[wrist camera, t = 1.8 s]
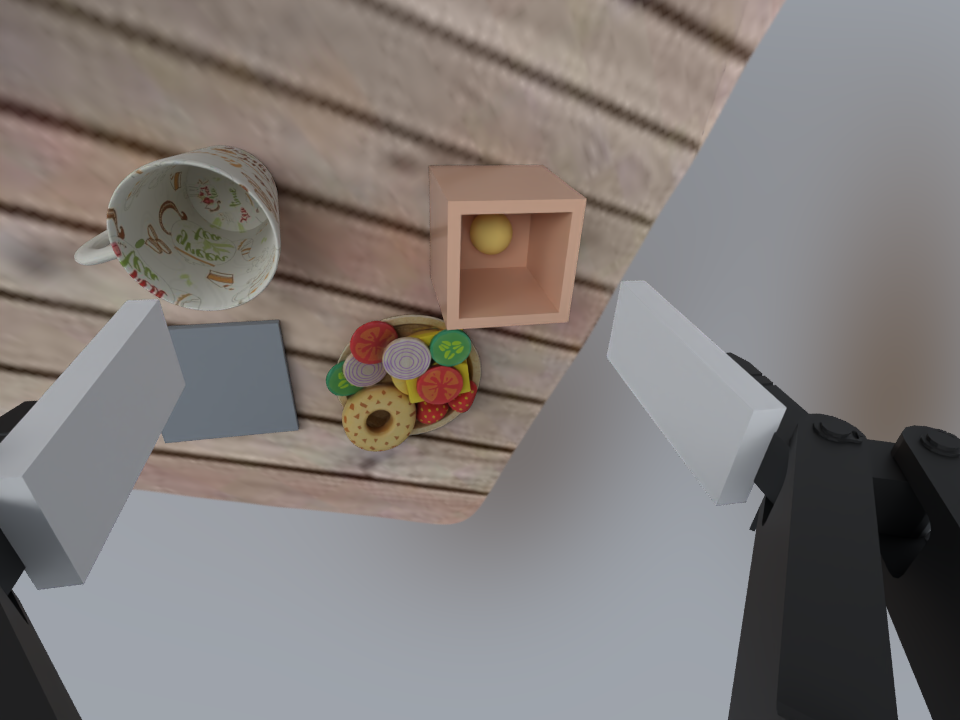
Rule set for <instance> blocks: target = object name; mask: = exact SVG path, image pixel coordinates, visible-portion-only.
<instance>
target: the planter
mask: <svg viewBox="0 0 960 720" xmlns="http://www.w3.org/2000/svg"><path fill="white" fill-rule="evenodd" d="M586 200H587V199H586V198H585V197H584V196H582V195H581V194H580V193H578V192H577V191H576V190H574V189H573V188H572V187H570V186H569V185H568V184H567V183H565V182H564V181H563V180H561V179H560V178H559V177H557V176H556V175H555V174H554V173H552V172H551V171H550V170H548V169H547V168H546V167H544V166H543V165H451V166H429V207H430V277H431V280H432V283H433V286H434V290H435V293H436V296H437V299H438V303H439V306H440V309H441V313H442V316H443V319H444V322H445V326H446V329H447V330H456V329H471V328H486V327H502V326H517V325H532V324H548V323H563V322H568V320H569V313H570V306H571V300H572V293H573V286H574V280H575V273H576V266H577V260H578V253H579V246H580V240H581V233H582V226H583V220H584V213H585V206H586ZM479 214H503V215H505V216H506V217H507V218H508V220H509V221H510V223H511V226H512V231H513V234H512V239H511V242H510V244H509V245H508V247H507V248H506V249H505V250H504V251H502V252H500V253H498V254H494V255H489V254H484V253H482V252H480V251H478V250H477V249H476V248H475V247H474V245H473V244H472V242H471V239H470V227H471V224H472V222H473V220H474V219H475V218H476V217H477V216H478V215H479Z"/></svg>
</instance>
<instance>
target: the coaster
mask: <svg viewBox="0 0 960 720" xmlns="http://www.w3.org/2000/svg"><path fill="white" fill-rule="evenodd" d="M167 327H168V330H169V333H170V336H171V340H172V343H173V346H174V349H175V352H176V356H177V359H178V362H179V365H180V368H181V372H182V375H183V378H184V381H185V387H184V389H183V391H182V393H181V395H180V397H179V399H178V401H177V403H176V405H175V407H174V409H173V410H172V412H171V414H170V416H169V418H168V420H167V422H166V424H165V426H164V428H163V430H162V432H161V433H162V436H163V438H164V441H165V443H171V442H181V441H192V440H202V439H212V438H223V437H233V436H243V435H254V434H264V433H274V432H285V431H295V430H298V429H299V424H298V419H297V413H296V408H295V403H294V398H293V392H292V387H291V382H290V376H289V371H288V366H287V361H286V355H285V350H284V345H283V339H282V334H281V329H280V324H279V320H266V321H248V322H231V323H214V324H196V325H179V326H167Z"/></svg>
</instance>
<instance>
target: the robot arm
mask: <svg viewBox="0 0 960 720" xmlns="http://www.w3.org/2000/svg"><path fill="white" fill-rule="evenodd" d="M607 359H608V360H609V361H610V363H611V364H612V365H613V367H614V368H615V369H616V371H617V372H618V373H619V375H620V376H621V377H622V379H623V380H624V382H625V383H626V384H627V385H628V387H629V388H630V390H631V391H632V392H633V394H634V395H635V396H636V398H637V399H638V401H639V402H640V403H641V405H642V406H643V407H644V409H645V410H646V411H647V413H648V414H649V415H650V417H651V418H652V419H653V421H654V422H655V424H656V425H657V426H658V428H659V429H660V430H661V432H662V433H663V434H664V436H665V437H666V439H667V440H668V441H669V443H670V444H671V445H672V447H673V448H674V449H675V451H676V452H677V453H678V455H679V456H680V457H681V459H682V460H683V461H684V463H685V464H686V465H687V467H688V468H689V469H690V471H691V472H692V474H693V475H694V476H695V478H696V479H697V480H698V482H699V483H700V485H701V486H702V487H703V489H704V490H705V491H706V493H707V494H708V495H709V496H710V498H711V500H712V501H713V502H714V504H715V505H716V506H720V505H728V504H735V503H744V502H746V501H747V498H748V496H749V494H750V492H751V489H752V487H753V485H754V483H755V484H756V485H757V486H758V487H759V488H760V490H761V491H762V492H763V493H764V494H765V496H764V498H763V500H762V503H761V505H760V507H759V509H758V511H757V514H756V516H755V518H754V520H753V522H752V524H751V527H750V530H752V531H755V529H756V535H755V542H754V548H753V555H752V562H751V568H750V576H749V582H748V589H747V596H746V602H745V609H744V616H743V622H742V629H741V636H740V642H739V649H738V656H737V663H736V669H735V676H734V683H733V689H732V696H731V703H730V710H729V717H728V720H898V715H897V706H896V697H895V687H894V677H893V668H892V659H891V649H890V641H889V631H888V621H887V611H886V607H887V609H888V612H889V614H890V617H891V619H892V622H893V624H894V626H895V629H896V631H897V634H898V636H899V639H900V641H901V644H902V646H903V648H904V651H905V653H906V656H907V658H908V661H909V663H910V666H911V668H912V670H913V673H914V675H915V678H916V680H917V683H918V685H919V687H920V690H921V692H922V695H923V697H924V699H925V702H926V705H927V707H928V709H929V712H930V714H931V717H932V719H933V720H960V439H959V438H957V437H956V436H955V435H953V434H951V433H946V431H943V430H940V429H934V428H930V427H927V426H915V425H914V426H910V427H906V428H905V429H904V430H903V432H902V433H901V435H900V436H899V438H898V440H897V442H896V443H891V442H884V441H875V440H868V439H866V436H865V435H864V434H863V433H861V431H859V430H858V429H857V428H856V427H854V426H853V425H851V424H849V423H847V422H846V421H843V420H841V419H838V418H836V417H833V416H828V415H824V414H808V413H807V412H806V411H805V410H804V409H802V407H800V406H799V405H798V404H797V403H796V402H794V401H793V400H792V399H791V398H790V397H789V396H788V395H786V394H785V393H784V392H783V391H782V390H781V389H779V388H778V387H777V386H776V385H773V382H771V381H770V380H769V379H768V378H767V377H765V376H762V373H761V372H760V371H759V370H757V369H756V368H755V367H754V366H753V365H752V364H751V363H749V362H748V361H746V360H744V359H742V358H740V357H738V356H736V355H734V354H732V353H725V352H724V351H723V350H722V349H720V348H719V347H718V346H717V345H716V344H715V343H714V342H713V341H712V340H710V339H709V338H708V337H707V336H706V335H705V334H704V333H703V332H701V331H700V330H699V329H698V328H697V327H696V326H695V325H694V324H693V323H691V322H690V321H689V320H688V319H687V318H686V317H685V316H684V315H683V314H681V313H680V312H679V311H678V310H677V309H676V308H675V307H674V306H672V305H671V304H670V303H669V302H668V301H667V300H666V299H665V298H664V297H662V296H661V295H660V294H659V293H658V292H657V291H656V290H655V289H653V288H652V287H651V286H650V285H649V284H648V283H647V282H646V281H645V280H637V281H621V285H620V290H619V295H618V301H617V306H616V311H615V316H614V321H613V326H612V331H611V336H610V342H609V347H608V352H607ZM184 387H185V381H184V378H183V375H182V372H181V368H180V365H179V362H178V359H177V356H176V352H175V349H174V346H173V343H172V340H171V336H170V333H169V330H168V327H167V324H166V320H165V317H164V314H163V311H162V308H161V304H160V301H159V299H152V300H127V301H126V302H125V303H124V305H123V306H122V307H121V308H120V309H119V310H118V311H117V312H116V314H115V315H114V316H113V317H112V318H111V319H110V320H109V321H108V323H107V324H106V325H105V326H104V327H103V328H102V329H101V330H100V332H99V333H98V334H97V335H96V336H95V337H94V338H93V339H92V341H91V342H90V343H89V344H88V345H87V346H86V347H85V348H84V350H83V351H82V352H81V353H80V354H79V355H78V356H77V357H76V359H75V360H74V361H73V362H72V363H71V364H70V365H69V367H68V368H67V369H66V370H65V371H64V372H63V373H62V374H61V376H60V377H59V378H58V379H57V380H56V381H55V382H54V383H53V385H52V386H51V387H50V388H49V389H48V390H47V391H46V392H45V394H44V395H43V396H42V397H41V398H40V399H39V400H38V401H26V402H23V403H22V404H20V405H18V406H17V407H15V408H14V409H12V410H10V411H9V412H7V413H6V414H4V415H2V416H1V417H0V720H82V719H81V717H80V715H79V713H78V712H77V709H76V707H75V706H74V704H73V702H72V700H71V698H70V696H69V694H68V692H67V690H66V689H65V687H64V685H63V683H62V681H61V679H60V677H59V675H58V673H57V671H56V669H55V667H54V665H53V664H52V662H51V660H50V658H49V656H48V654H47V652H46V650H45V648H44V646H43V644H42V643H41V641H40V639H39V637H38V635H37V633H36V631H35V629H34V627H33V625H32V623H31V621H30V620H29V618H28V616H27V614H26V612H25V610H24V608H23V606H22V604H21V602H20V600H19V599H18V597H17V596H16V595H15V593H14V592H13V590H12V588H13V586H14V585H15V583H16V582H17V580H18V579H19V577H20V576H21V574H22V572H23V571H24V570H25V571H26V573H27V574H28V576H29V577H30V579H31V580H32V582H33V583H34V585H35V586H36V588H37V589H38V590H40V589H48V588H56V587H64V586H72V585H81V584H84V583H85V580H86V579H87V577H88V575H89V573H90V571H91V569H92V567H93V565H94V563H95V561H96V559H97V557H98V555H99V553H100V551H101V549H102V548H103V546H104V544H105V541H106V540H107V538H108V536H109V533H110V532H111V530H112V528H113V526H114V524H115V522H116V520H117V518H118V516H119V514H120V512H121V510H122V508H123V506H124V504H125V502H126V501H127V498H128V497H129V495H130V492H131V491H132V489H133V487H134V485H135V483H136V481H137V479H138V477H139V475H140V473H141V471H142V469H143V467H144V465H145V463H146V461H147V459H148V457H149V456H150V454H151V452H152V450H153V448H154V446H155V444H156V442H157V440H158V438H159V436H160V434H161V432H162V430H163V428H164V426H165V424H166V422H167V420H168V418H169V416H170V414H171V412H172V410H173V409H174V407H175V405H176V403H177V401H178V399H179V397H180V395H181V393H182V391H183V389H184ZM930 530H931V531H930Z"/></svg>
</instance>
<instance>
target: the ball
mask: <svg viewBox="0 0 960 720" xmlns="http://www.w3.org/2000/svg"><path fill="white" fill-rule="evenodd" d="M512 234H513V231H512V226H511V223H510V221H509V220H508V218H507V217H506V216H505V215H503V214H479V215H478V216H477V217H476V218H475V219H474V220H473V222H472V224H471V227H470V239H471V242H472V244H473V245H474V247H475V248H476V249H477V250H478V251H480V252H482V253H484V254H489V255H494V254H498V253H500V252H502V251H504V250H505V249H506V248H507V247H508V245H509V244H510V242H511V239H512Z"/></svg>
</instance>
